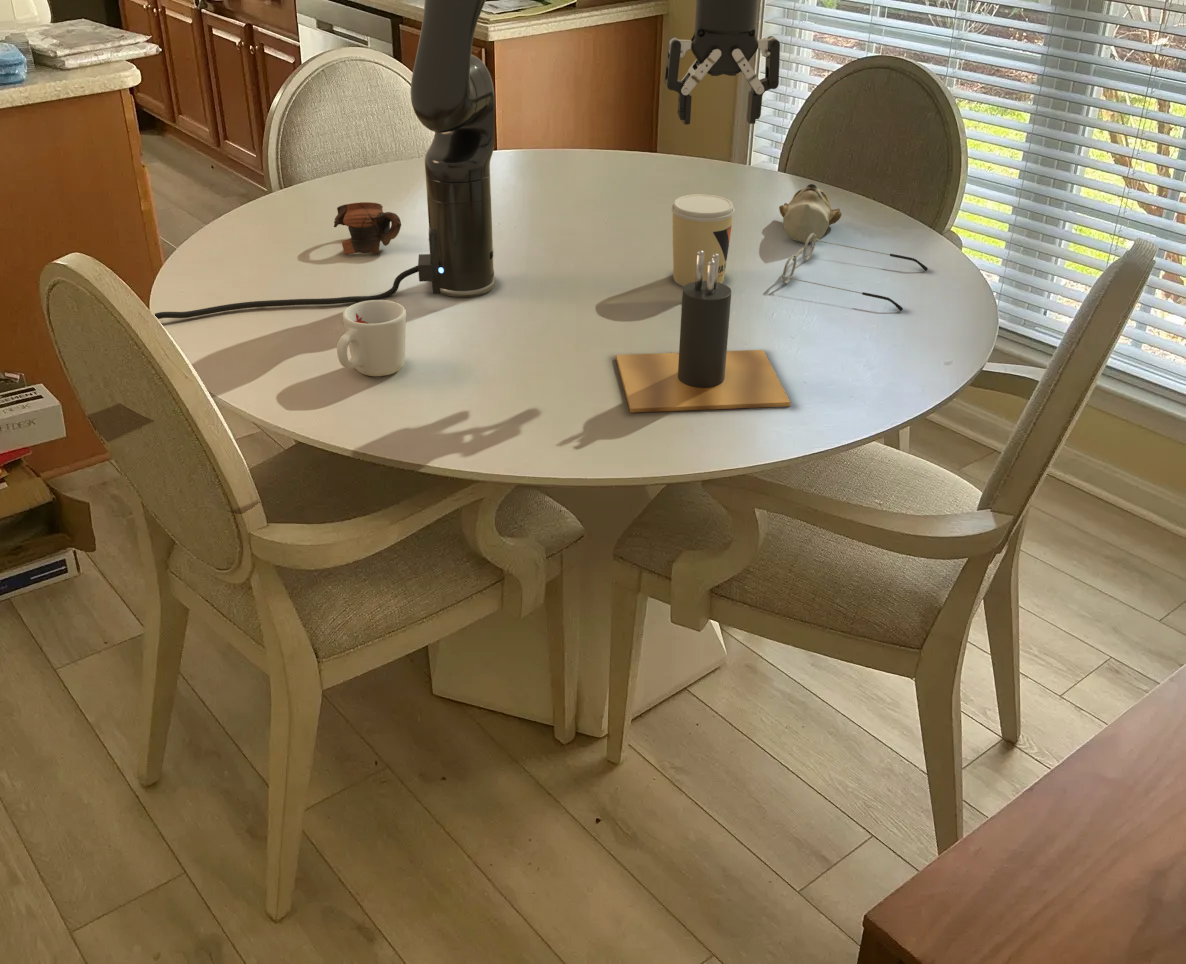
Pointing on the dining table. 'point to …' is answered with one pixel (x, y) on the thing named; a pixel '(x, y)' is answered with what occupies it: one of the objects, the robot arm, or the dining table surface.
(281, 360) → the dining table surface
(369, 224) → the pottery mug
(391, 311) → the cup
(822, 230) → the ceramic sculpture
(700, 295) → the cutlery holder
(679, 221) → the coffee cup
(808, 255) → the eyeglasses
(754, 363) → the wooden board
